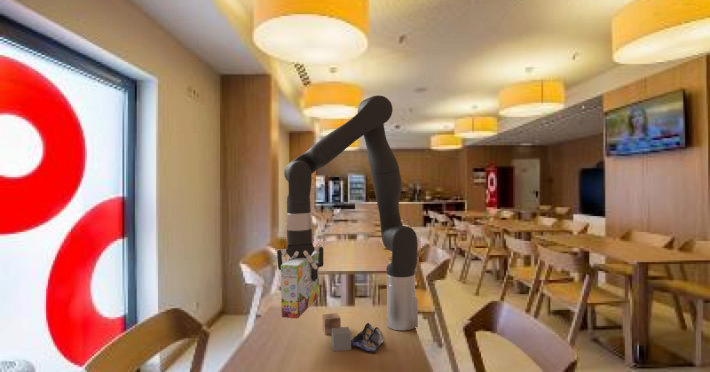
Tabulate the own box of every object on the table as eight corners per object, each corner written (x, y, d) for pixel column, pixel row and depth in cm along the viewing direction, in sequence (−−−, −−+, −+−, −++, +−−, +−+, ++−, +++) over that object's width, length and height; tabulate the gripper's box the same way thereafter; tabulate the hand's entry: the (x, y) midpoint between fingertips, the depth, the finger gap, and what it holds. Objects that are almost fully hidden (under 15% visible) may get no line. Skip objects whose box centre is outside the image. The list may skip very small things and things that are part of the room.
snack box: (300, 319, 120) (298, 265, 119) (280, 318, 121) (278, 265, 120) (320, 296, 141) (318, 250, 140) (304, 296, 142) (302, 250, 141)
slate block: (348, 343, 130) (348, 326, 130) (351, 350, 125) (350, 332, 125) (331, 344, 129) (331, 328, 129) (333, 351, 124) (333, 334, 124)
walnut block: (337, 328, 142) (337, 313, 142) (340, 333, 137) (340, 318, 137) (322, 329, 141) (322, 314, 141) (325, 335, 136) (324, 319, 136)
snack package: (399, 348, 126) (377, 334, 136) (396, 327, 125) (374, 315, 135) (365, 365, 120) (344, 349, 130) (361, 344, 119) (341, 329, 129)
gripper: (321, 224, 135) (322, 277, 136) (274, 227, 132) (276, 281, 133) (325, 227, 128) (327, 283, 129) (275, 230, 125) (277, 287, 125)
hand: (301, 282), depth 131 cm, fingers closed on snack box, 7 cm apart
